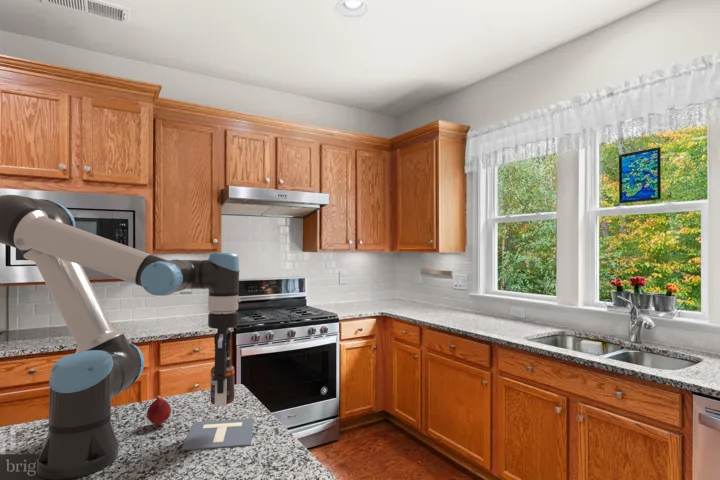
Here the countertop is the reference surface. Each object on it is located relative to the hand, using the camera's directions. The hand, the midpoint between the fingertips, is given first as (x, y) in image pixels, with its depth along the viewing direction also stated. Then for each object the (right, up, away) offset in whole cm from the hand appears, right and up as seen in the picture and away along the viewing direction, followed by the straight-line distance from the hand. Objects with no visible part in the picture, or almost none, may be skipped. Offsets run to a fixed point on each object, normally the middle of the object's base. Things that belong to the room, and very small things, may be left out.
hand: (222, 400), depth 110 cm
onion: (-19, -9, +4) cm, 21 cm away
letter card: (0, -9, 0) cm, 9 cm away
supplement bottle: (0, -1, 0) cm, 1 cm away
